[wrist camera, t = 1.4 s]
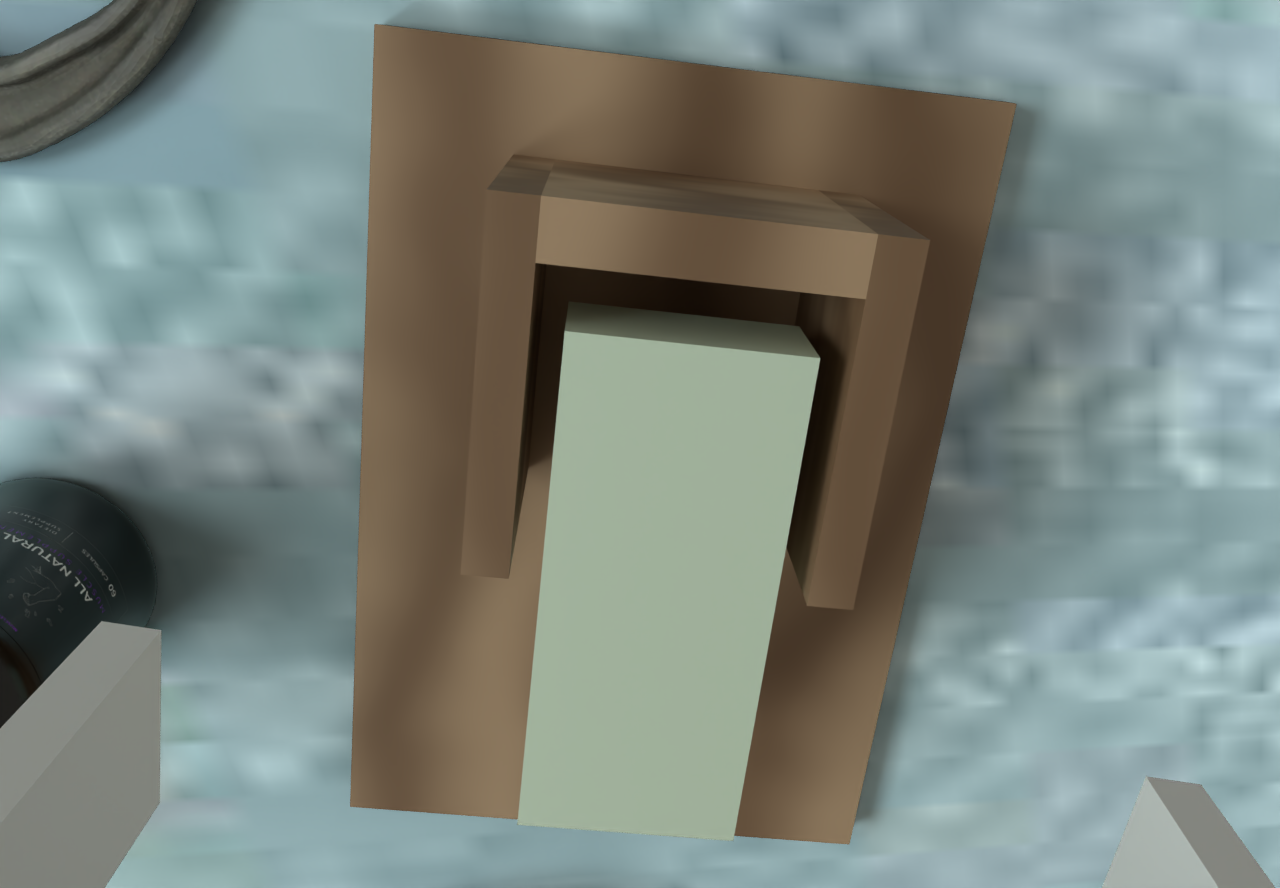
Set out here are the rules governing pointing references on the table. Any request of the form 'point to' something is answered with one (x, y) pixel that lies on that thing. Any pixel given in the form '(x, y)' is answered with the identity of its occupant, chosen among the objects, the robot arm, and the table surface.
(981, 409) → the table surface
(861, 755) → the cradle
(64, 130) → the c clamp
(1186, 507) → the table surface
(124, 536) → the supplement bottle
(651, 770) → the bar
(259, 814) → the table surface
